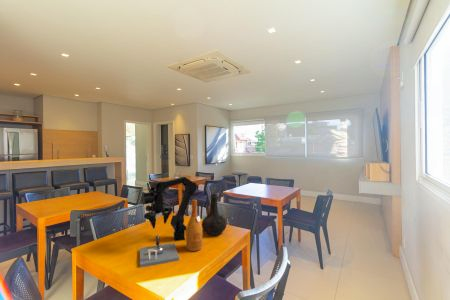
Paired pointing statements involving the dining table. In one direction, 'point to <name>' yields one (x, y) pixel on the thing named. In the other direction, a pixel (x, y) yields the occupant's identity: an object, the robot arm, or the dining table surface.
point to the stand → (158, 255)
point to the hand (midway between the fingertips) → (159, 225)
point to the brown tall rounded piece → (194, 230)
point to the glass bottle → (214, 219)
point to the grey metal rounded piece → (158, 248)
